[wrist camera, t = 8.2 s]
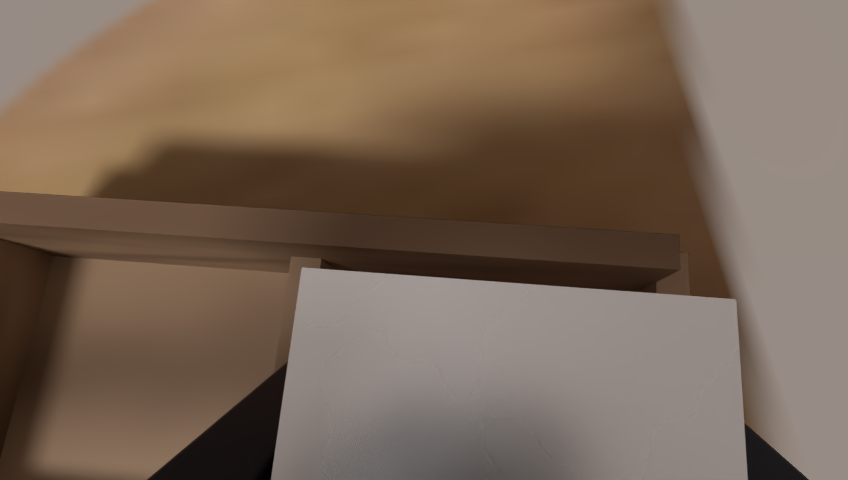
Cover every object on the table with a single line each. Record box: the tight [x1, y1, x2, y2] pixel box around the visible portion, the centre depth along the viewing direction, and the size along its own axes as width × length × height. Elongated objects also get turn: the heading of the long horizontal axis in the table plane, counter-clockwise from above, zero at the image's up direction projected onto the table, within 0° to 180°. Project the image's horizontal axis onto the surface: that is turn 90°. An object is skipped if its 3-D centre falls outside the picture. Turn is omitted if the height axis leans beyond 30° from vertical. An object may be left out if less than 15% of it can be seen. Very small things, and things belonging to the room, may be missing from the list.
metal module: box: [271, 267, 748, 480], centre depth 9 cm, size 4×4×9 cm
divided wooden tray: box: [0, 191, 690, 480], centre depth 14 cm, size 10×19×5 cm, turn 85°
